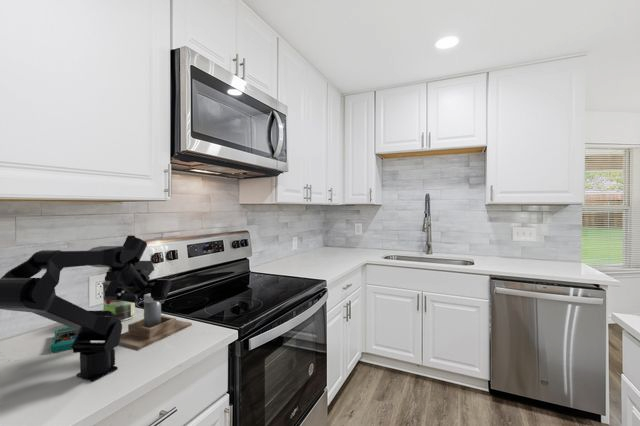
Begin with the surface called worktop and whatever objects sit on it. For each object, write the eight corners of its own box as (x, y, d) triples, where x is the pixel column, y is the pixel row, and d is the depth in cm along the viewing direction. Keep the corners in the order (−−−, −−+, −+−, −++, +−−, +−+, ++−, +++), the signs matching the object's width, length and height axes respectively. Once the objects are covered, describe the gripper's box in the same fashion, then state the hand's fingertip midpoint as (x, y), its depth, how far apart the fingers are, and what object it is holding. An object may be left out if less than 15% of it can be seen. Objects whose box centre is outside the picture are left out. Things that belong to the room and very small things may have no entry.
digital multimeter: (50, 355, 90) (49, 345, 89) (55, 337, 102) (55, 328, 101) (82, 348, 94) (82, 338, 94) (83, 332, 106) (83, 323, 106)
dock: (139, 349, 92) (139, 336, 92) (108, 341, 97) (108, 329, 97) (191, 325, 110) (191, 314, 110) (163, 319, 116) (163, 309, 116)
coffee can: (119, 323, 112) (118, 285, 111) (96, 321, 114) (95, 283, 114) (142, 314, 122) (141, 278, 121) (120, 312, 124) (119, 277, 124)
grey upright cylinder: (157, 333, 102) (157, 296, 101) (141, 333, 101) (140, 297, 101) (163, 327, 107) (163, 292, 106) (148, 327, 106) (148, 292, 106)
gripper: (168, 253, 96) (185, 280, 108) (109, 253, 97) (133, 280, 108) (154, 285, 89) (174, 310, 100) (90, 285, 89) (118, 310, 101)
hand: (150, 301), depth 102 cm, fingers open, 9 cm apart
